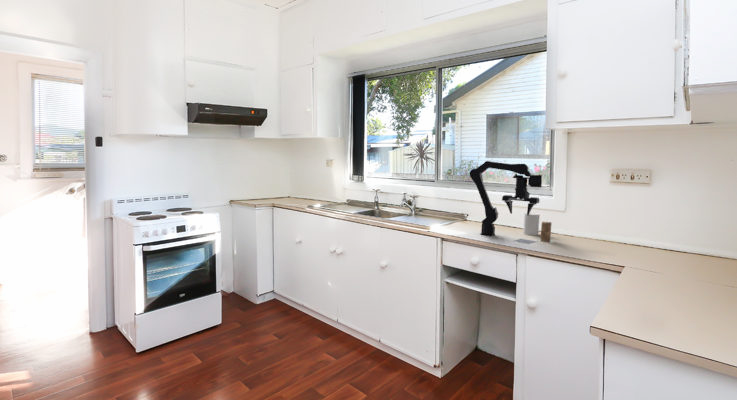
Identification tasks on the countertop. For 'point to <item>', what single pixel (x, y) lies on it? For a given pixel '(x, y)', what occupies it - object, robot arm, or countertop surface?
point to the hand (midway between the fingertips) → (519, 214)
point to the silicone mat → (525, 241)
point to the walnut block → (546, 231)
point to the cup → (531, 224)
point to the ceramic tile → (546, 242)
